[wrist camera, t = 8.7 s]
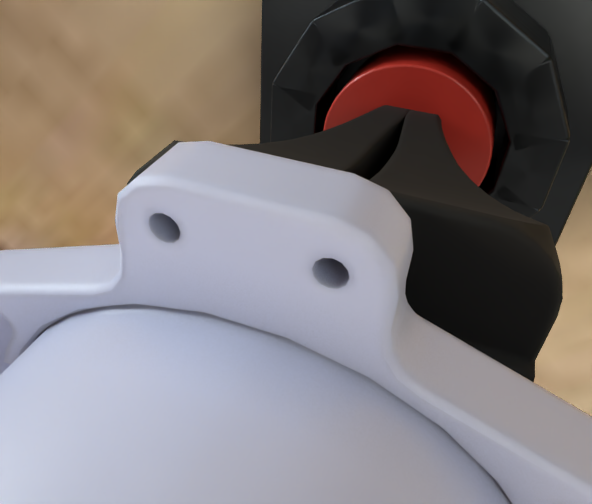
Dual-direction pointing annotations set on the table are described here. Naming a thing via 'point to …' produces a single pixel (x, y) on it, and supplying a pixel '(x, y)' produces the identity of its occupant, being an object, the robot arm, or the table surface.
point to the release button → (426, 100)
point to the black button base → (474, 55)
